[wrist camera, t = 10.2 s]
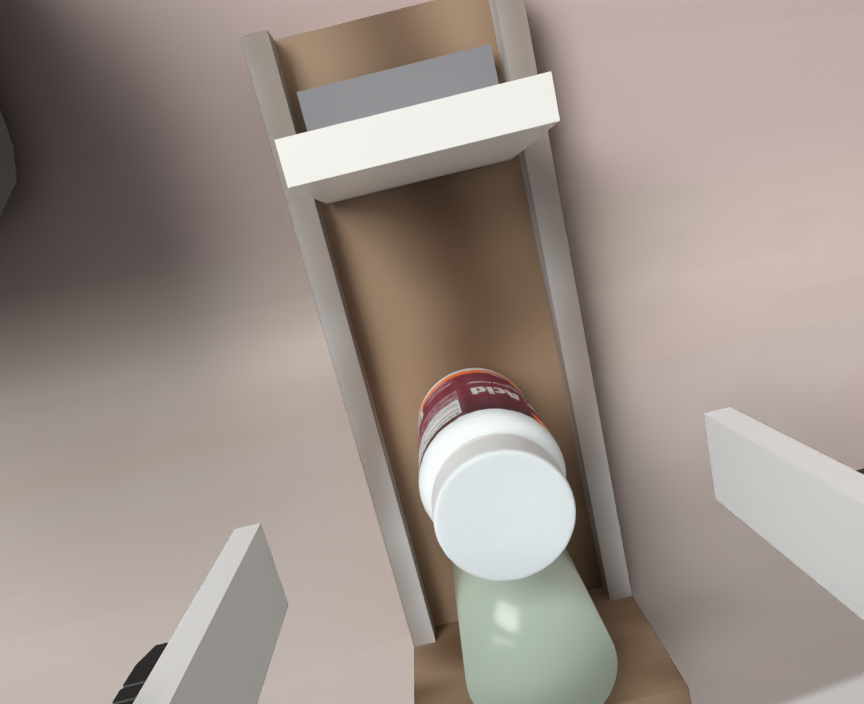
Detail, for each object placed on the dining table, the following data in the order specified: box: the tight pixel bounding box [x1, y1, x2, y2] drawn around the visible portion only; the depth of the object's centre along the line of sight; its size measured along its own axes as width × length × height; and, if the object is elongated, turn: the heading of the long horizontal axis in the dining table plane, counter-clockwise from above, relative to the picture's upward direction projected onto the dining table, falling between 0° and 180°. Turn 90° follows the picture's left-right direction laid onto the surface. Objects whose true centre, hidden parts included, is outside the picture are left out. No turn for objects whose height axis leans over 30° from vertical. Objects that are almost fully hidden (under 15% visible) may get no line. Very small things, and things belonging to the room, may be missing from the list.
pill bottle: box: [418, 368, 576, 581], centre depth 19 cm, size 5×5×8 cm
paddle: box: [274, 44, 560, 205], centre depth 17 cm, size 7×4×7 cm, turn 103°
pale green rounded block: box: [451, 548, 618, 704], centre depth 21 cm, size 5×5×7 cm
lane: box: [240, 0, 691, 704], centre depth 20 cm, size 10×27×7 cm, turn 13°
